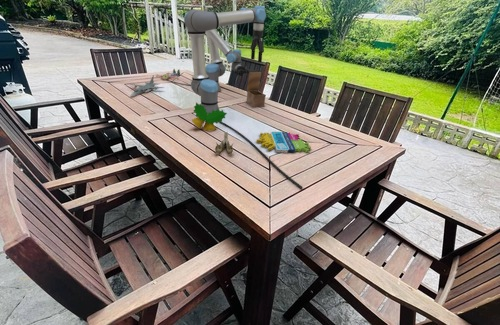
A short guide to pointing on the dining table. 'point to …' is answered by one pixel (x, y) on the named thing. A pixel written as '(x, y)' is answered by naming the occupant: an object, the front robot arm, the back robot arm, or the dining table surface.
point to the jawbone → (224, 145)
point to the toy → (170, 75)
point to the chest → (255, 98)
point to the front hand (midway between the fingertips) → (256, 60)
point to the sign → (283, 142)
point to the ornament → (207, 117)
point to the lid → (254, 80)
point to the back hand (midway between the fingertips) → (249, 74)
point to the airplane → (145, 87)
